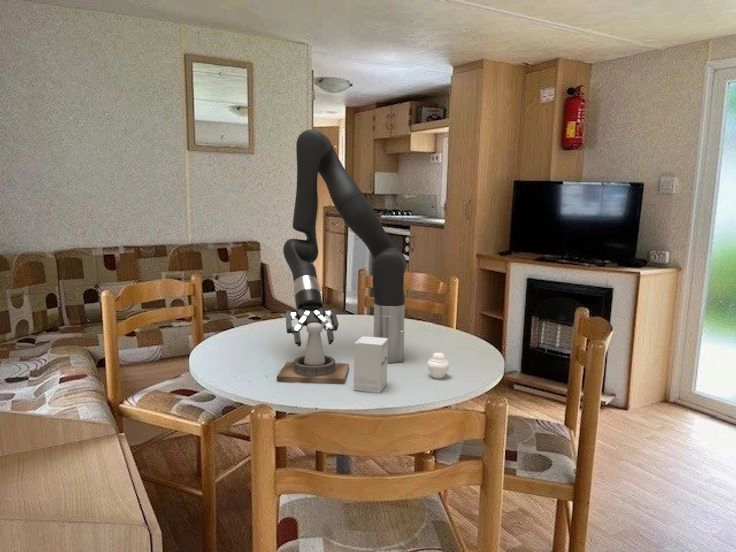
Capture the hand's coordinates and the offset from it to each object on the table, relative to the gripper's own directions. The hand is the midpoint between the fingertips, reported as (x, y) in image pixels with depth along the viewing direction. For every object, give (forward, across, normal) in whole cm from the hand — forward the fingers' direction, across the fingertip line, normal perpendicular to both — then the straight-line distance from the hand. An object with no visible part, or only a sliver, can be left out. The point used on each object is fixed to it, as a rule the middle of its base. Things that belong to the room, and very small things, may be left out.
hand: (315, 344), depth 144 cm
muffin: (+13, +33, +1) cm, 35 cm away
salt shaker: (+4, 0, +7) cm, 8 cm away
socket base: (+6, 0, +7) cm, 9 cm away
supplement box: (+15, +12, -2) cm, 19 cm away
